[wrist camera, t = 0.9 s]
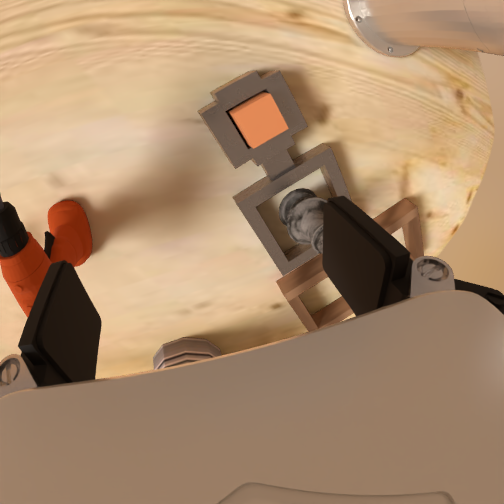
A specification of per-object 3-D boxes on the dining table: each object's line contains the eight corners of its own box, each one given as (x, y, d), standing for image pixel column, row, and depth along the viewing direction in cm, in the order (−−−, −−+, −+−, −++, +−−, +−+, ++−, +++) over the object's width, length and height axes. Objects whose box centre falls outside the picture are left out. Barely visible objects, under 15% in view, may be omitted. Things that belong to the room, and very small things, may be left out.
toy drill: (60, 94, 21) (-19, 149, 10) (99, 250, 33) (86, 359, 22) (19, 108, 20) (-69, 173, 9) (64, 256, 32) (41, 362, 21)
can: (231, 366, 49) (249, 426, 39) (172, 386, 48) (181, 445, 39) (207, 326, 43) (223, 396, 33) (139, 350, 42) (142, 419, 32)
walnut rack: (404, 198, 40) (417, 206, 37) (414, 252, 47) (424, 262, 44) (276, 281, 41) (283, 295, 39) (306, 325, 48) (313, 338, 46)
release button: (261, 92, 26) (270, 93, 24) (278, 124, 28) (288, 128, 26) (227, 111, 26) (233, 114, 24) (246, 143, 28) (253, 148, 26)
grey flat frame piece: (279, 56, 26) (290, 54, 23) (352, 219, 39) (364, 230, 37) (176, 113, 27) (177, 116, 24) (277, 267, 40) (285, 280, 38)
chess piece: (273, 231, 37) (315, 292, 27) (279, 185, 34) (329, 236, 24) (316, 229, 39) (366, 285, 29) (324, 186, 36) (383, 233, 26)
